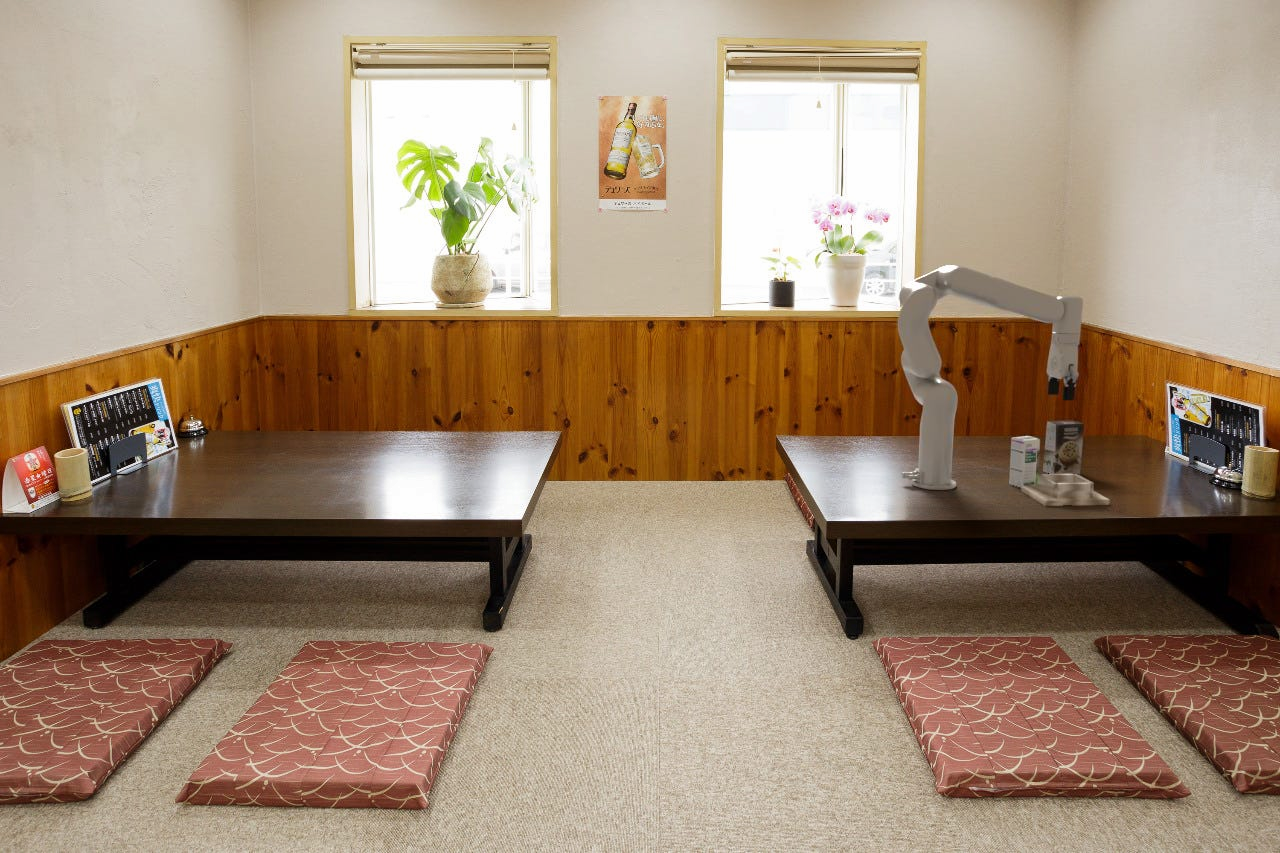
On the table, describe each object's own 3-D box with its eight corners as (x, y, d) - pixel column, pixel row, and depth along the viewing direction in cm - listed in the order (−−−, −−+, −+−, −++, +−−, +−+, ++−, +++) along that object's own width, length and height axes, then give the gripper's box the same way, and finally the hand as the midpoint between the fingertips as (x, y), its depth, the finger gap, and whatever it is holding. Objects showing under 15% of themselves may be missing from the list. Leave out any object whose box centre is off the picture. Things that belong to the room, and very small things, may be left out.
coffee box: (1054, 476, 315) (1058, 424, 312) (1042, 471, 321) (1045, 420, 318) (1081, 474, 317) (1085, 423, 314) (1068, 469, 323) (1072, 419, 320)
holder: (1044, 505, 283) (1046, 486, 282) (1021, 490, 299) (1022, 472, 298) (1109, 504, 284) (1110, 485, 283) (1082, 489, 299) (1083, 471, 298)
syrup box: (1022, 488, 301) (1025, 440, 298) (1008, 484, 306) (1011, 436, 303) (1037, 486, 303) (1041, 438, 300) (1023, 482, 308) (1026, 434, 306)
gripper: (1039, 335, 306) (1035, 392, 309) (1066, 342, 289) (1061, 402, 292) (1064, 335, 306) (1059, 392, 310) (1092, 342, 289) (1086, 402, 293)
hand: (1060, 397), depth 301 cm, fingers open, 9 cm apart
